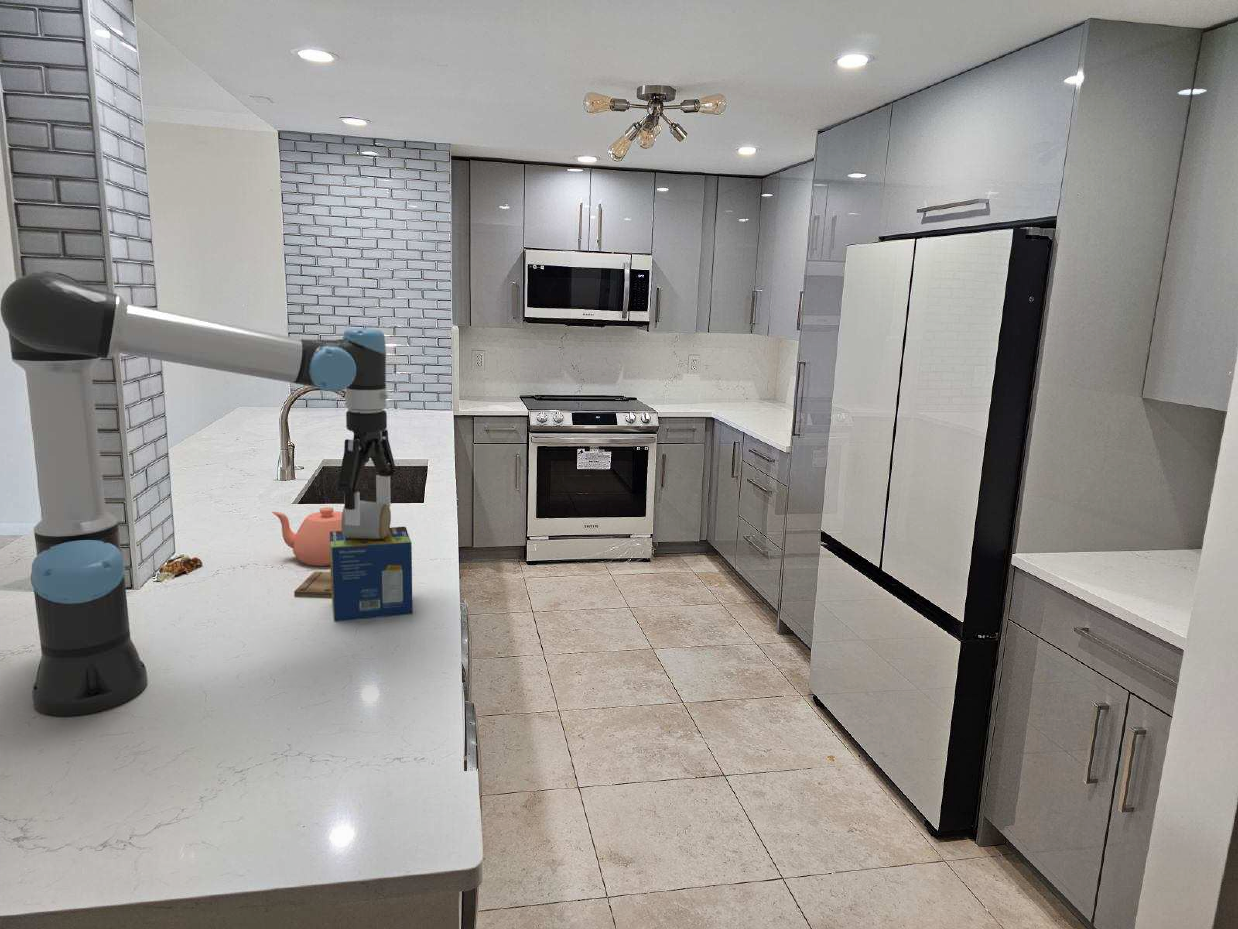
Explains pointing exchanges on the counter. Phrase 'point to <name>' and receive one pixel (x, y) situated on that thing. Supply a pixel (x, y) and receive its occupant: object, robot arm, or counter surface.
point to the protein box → (371, 575)
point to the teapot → (312, 536)
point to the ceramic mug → (369, 522)
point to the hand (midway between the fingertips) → (368, 515)
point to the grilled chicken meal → (177, 567)
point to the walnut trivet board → (315, 586)
